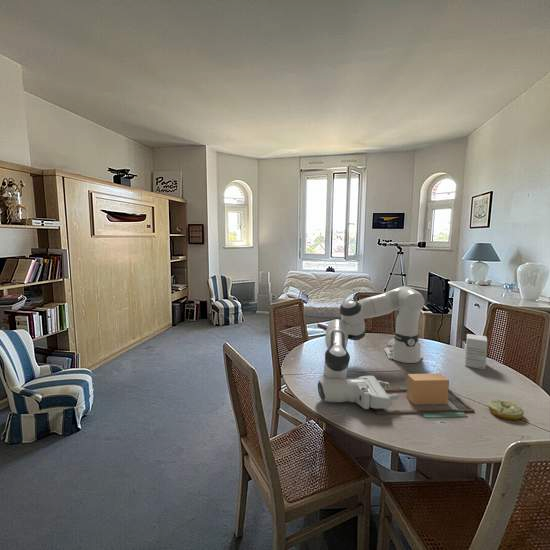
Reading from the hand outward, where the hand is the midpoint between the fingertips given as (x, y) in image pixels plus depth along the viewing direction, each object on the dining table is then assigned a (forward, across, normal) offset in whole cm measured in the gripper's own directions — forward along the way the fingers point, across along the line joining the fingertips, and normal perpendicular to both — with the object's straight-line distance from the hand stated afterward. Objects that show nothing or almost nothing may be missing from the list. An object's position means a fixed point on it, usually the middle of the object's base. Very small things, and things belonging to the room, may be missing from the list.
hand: (393, 390), depth 128 cm
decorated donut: (+39, +9, -5) cm, 40 cm away
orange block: (+14, -1, -5) cm, 15 cm away
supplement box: (+57, -36, -5) cm, 67 cm away
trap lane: (+10, 0, -5) cm, 11 cm away
